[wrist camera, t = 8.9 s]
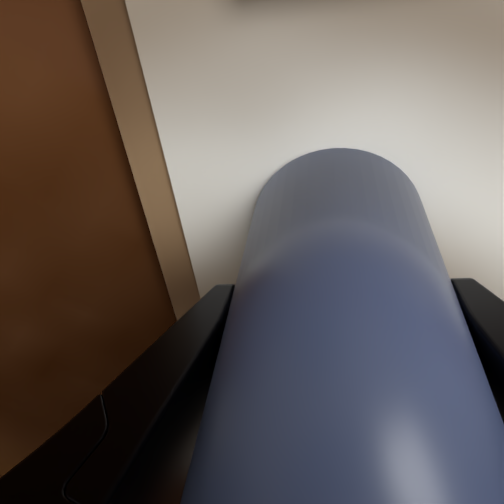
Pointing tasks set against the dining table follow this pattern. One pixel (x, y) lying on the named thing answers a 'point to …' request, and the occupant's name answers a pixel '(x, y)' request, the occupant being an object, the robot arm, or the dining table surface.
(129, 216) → the dining table surface
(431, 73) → the clipboard
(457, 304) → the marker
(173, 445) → the robot arm
